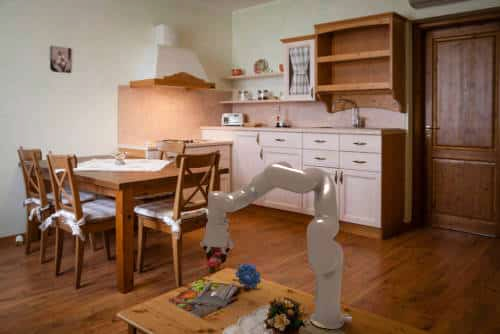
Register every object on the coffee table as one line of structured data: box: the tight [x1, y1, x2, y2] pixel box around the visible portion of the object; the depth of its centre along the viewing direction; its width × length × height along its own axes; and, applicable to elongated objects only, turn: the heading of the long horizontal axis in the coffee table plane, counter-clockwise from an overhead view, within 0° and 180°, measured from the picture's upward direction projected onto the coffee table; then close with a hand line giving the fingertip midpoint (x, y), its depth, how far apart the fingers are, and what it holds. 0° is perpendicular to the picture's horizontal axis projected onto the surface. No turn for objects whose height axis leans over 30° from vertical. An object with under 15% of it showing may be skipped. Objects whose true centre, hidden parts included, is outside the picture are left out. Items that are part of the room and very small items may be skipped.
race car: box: [206, 251, 223, 268], centre depth 187 cm, size 13×5×4 cm, turn 162°
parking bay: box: [192, 280, 238, 308], centre depth 189 cm, size 14×21×2 cm, turn 168°
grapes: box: [235, 262, 262, 289], centre depth 196 cm, size 12×7×12 cm, turn 84°
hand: (216, 261), depth 187 cm, fingers closed on race car, 5 cm apart
